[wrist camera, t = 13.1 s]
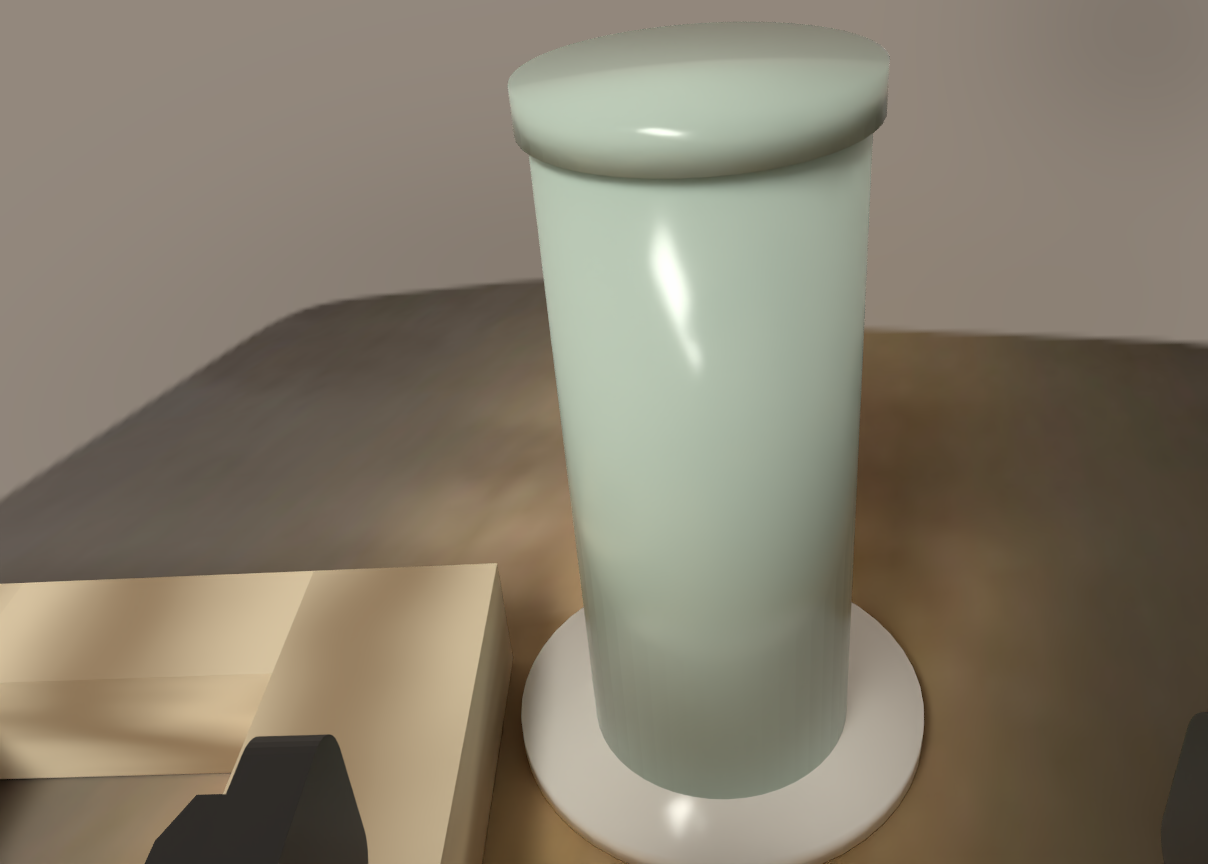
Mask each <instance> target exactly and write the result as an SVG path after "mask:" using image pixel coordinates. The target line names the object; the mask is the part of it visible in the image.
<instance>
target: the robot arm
mask: <svg viewBox="0 0 1208 864" xmlns="http://www.w3.org/2000/svg"><path fill="white" fill-rule="evenodd" d="M1161 843H1162V853H1163V859H1164V864H1208V712H1200V713H1197V714H1195V715H1194V716H1193V717H1192V719H1191V721H1190V723H1189V725H1188V728H1187V732H1186V735H1185V739H1184V743H1183V746H1182V750H1181V754H1180V757H1179V761H1178V765H1177V768H1176V772H1175V775H1174V779H1173V783H1172V786H1171V790H1170V794H1169V797H1168V801H1167V804H1166V808H1165V812H1164V815H1163V820H1162V827H1161ZM145 864H368V846H367V839H366V834H365V830H364V827H363V823H362V820H361V817H360V813H359V810H358V807H357V803H356V800H355V796H354V793H353V790H352V786H351V783H350V780H349V776H348V773H347V770H346V766H345V763H344V760H343V756H342V753H341V750H340V747H339V744H338V742H337V740H336V738H335V737H334V736H333V735H330V734H325V735H290V736H259V737H255V738H253V739H252V740H251V741H250V742H249V743H248V744H247V746H246V747H245V749H244V751H243V754H242V756H241V758H240V761H239V763H238V766H237V768H236V770H235V773H234V775H233V778H232V780H231V783H230V785H229V788H228V790H227V793H226V794H212V795H196V796H195V797H194V798H193V800H192V801H191V802H190V803H189V804H188V805H187V806H186V807H185V808H184V810H183V811H182V812H181V813H180V814H179V815H178V816H177V817H176V818H175V820H174V821H173V822H172V823H171V824H170V825H169V826H168V827H167V828H166V829H165V831H164V832H163V833H162V834H161V835H160V836H159V837H158V838H157V839H156V841H155V842H154V844H153V847H152V849H151V851H150V853H149V855H148V858H147V860H146V862H145Z"/></svg>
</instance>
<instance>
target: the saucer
mask: <svg viewBox="0 0 1208 864" xmlns="http://www.w3.org/2000/svg"><path fill="white" fill-rule="evenodd" d="M521 720H522V728H523V735H524V742H525V748H526V753H527V758H528V761H529V764H530V768H531V771H532V774H533V777H534V779H535V781H536V782H537V784H538V786H539V788H540V790H541V792H542V794H543V796H544V797H545V799H546V800H547V801H548V803H549V804H550V805H551V807H552V808H553V809H554V811H555V812H556V813H557V814H558V815H559V816H560V817H561V818H562V819H563V820H564V821H565V822H566V824H567V825H568V826H569V827H570V828H571V829H572V830H574V831H575V832H576V833H578V834H579V835H580V836H582V837H583V838H584V839H585V840H587V841H588V842H589V843H591V844H592V845H593V846H595V847H597V848H599V849H601V850H602V851H604V852H606V853H608V854H609V855H611V856H613V857H615V858H617V859H619V860H621V861H624V862H626V863H629V864H823V863H825V862H827V861H829V860H831V859H833V858H835V857H838V856H840V855H842V854H844V853H845V852H847V851H848V850H850V849H851V848H853V847H854V846H856V845H858V844H859V843H861V842H862V841H864V840H865V839H866V838H868V837H869V836H870V835H871V834H872V833H873V832H874V831H876V830H877V829H878V828H879V827H880V826H881V825H882V824H884V823H885V821H886V820H887V819H888V818H889V817H890V815H891V814H892V813H893V812H894V811H895V809H896V808H897V807H898V806H899V805H900V803H901V801H902V800H903V798H904V796H905V795H906V793H907V791H908V789H909V788H910V786H911V784H912V781H913V778H914V776H915V773H916V770H917V768H918V765H919V759H920V753H921V748H922V740H923V730H924V704H923V699H922V694H921V688H920V685H919V682H918V679H917V677H916V674H915V671H914V669H913V666H912V665H911V663H910V661H909V659H908V658H907V656H906V654H905V652H904V651H903V649H902V648H901V647H900V645H899V644H898V643H897V642H896V640H895V639H894V638H893V637H892V635H891V634H890V633H889V632H888V631H887V630H886V629H885V628H884V627H883V626H882V625H881V624H880V623H879V622H878V621H877V620H876V619H874V618H873V617H872V616H870V615H869V614H868V613H867V612H865V611H864V610H863V609H861V608H860V607H859V606H857V605H855V604H854V603H851V625H850V647H849V668H848V690H847V711H846V720H845V724H844V728H843V732H842V734H841V736H840V738H839V741H838V743H837V744H836V746H835V747H834V749H833V750H832V752H831V753H830V755H829V756H828V757H827V758H826V759H825V760H824V761H823V762H822V763H821V764H820V765H819V766H818V767H817V768H815V769H814V770H813V771H812V772H810V773H809V774H808V775H806V776H805V777H803V778H801V779H800V780H798V781H796V782H795V783H792V784H790V785H788V786H786V787H783V788H781V789H779V790H776V791H772V792H769V793H766V794H763V795H757V796H752V797H747V798H737V799H707V798H699V797H692V796H688V795H683V794H679V793H675V792H672V791H670V790H667V789H664V788H661V787H659V786H657V785H655V784H653V783H651V782H649V781H647V780H645V779H643V778H642V777H640V776H639V775H637V774H636V773H634V772H633V771H631V770H630V769H629V768H628V767H627V766H625V765H624V764H623V763H622V762H621V761H620V760H619V759H618V758H617V757H616V755H615V754H614V753H613V752H612V751H611V749H610V748H609V746H608V744H607V743H606V741H605V739H604V737H603V735H602V732H601V730H600V728H599V723H598V719H597V714H596V705H595V697H594V689H593V681H592V672H591V664H590V656H589V648H588V639H587V631H586V623H585V615H584V607H583V608H582V609H580V610H579V611H578V612H576V613H575V614H574V615H572V616H571V617H570V618H569V619H568V620H567V621H566V622H565V623H564V624H562V625H561V626H560V627H559V628H558V629H557V630H556V631H555V632H554V634H553V635H552V636H551V637H550V639H549V640H548V641H547V642H546V644H545V645H544V646H543V648H542V649H541V651H540V653H539V654H538V656H537V658H536V659H535V661H534V663H533V665H532V668H531V670H530V673H529V675H528V677H527V680H526V684H525V688H524V693H523V697H522V712H521Z"/></svg>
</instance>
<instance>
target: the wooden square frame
mask: <svg viewBox="0 0 1208 864" xmlns="http://www.w3.org/2000/svg"><path fill="white" fill-rule="evenodd" d="M512 662H513V654H512V648H511V642H510V636H509V630H508V625H507V619H506V613H505V607H504V601H503V595H502V589H501V583H500V577H499V571H498V566H497V563H492V564H468V565H444V566H420V567H396V568H372V569H348V570H324V571H300V572H276V573H252V574H228V575H204V576H180V577H156V578H132V579H108V580H84V581H60V582H36V583H12V584H0V779H23V778H59V777H95V776H131V775H166V774H202V773H231V776H230V778H229V780H228V783H227V785H226V788H225V790H224V793H223V794H226V793H227V790H228V788H229V785H230V783H231V780H232V778H233V775H234V773H235V770H236V768H237V766H238V763H239V761H240V758H241V756H242V754H243V751H244V749H245V747H246V746H247V744H248V743H249V742H250V741H251V740H252V739H253V738H255V737H259V736H290V735H325V734H330V735H333V736H334V737H335V738H336V740H337V742H338V744H339V747H340V750H341V753H342V756H343V760H344V763H345V766H346V770H347V773H348V776H349V780H350V783H351V786H352V790H353V793H354V796H355V800H356V803H357V807H358V810H359V813H360V817H361V820H362V823H363V827H364V830H365V834H366V839H367V846H368V864H482V860H483V854H484V847H485V840H486V834H487V827H488V821H489V814H490V807H491V801H492V794H493V788H494V781H495V774H496V768H497V761H498V755H499V748H500V741H501V735H502V728H503V722H504V715H505V708H506V702H507V695H508V689H509V682H510V675H511V669H512Z"/></svg>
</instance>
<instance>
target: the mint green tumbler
mask: <svg viewBox="0 0 1208 864" xmlns="http://www.w3.org/2000/svg"><path fill="white" fill-rule="evenodd" d="M889 60H890V56H889V54H888V52H887V50H885V49H884V48H883V47H882V46H881V45H880V44H878V43H876V42H874V41H873V40H871V39H868V38H866V37H863V36H860V35H857V34H854V33H850V32H847V31H842V30H837V29H832V28H826V27H819V26H812V25H803V24H792V23H776V22H719V23H699V24H687V25H675V26H665V27H657V28H649V29H642V30H635V31H629V32H624V33H618V34H613V35H607V36H603V37H598V38H594V39H590V40H586V41H582V42H578V43H575V44H571V45H568V46H565V47H561V48H558V49H555V50H553V51H550V52H548V53H545V54H543V55H540V56H538V57H536V58H534V59H532V60H530V61H528V62H527V63H525V64H524V65H522V66H520V67H519V68H518V69H517V70H516V71H515V72H514V73H513V74H512V75H511V77H510V78H509V81H508V92H509V100H510V108H511V115H512V124H513V132H514V137H515V140H516V143H517V144H518V146H519V147H520V148H521V149H522V150H523V151H524V152H526V153H527V154H529V161H530V169H531V177H532V185H533V194H534V202H535V209H536V218H537V227H538V235H539V243H540V251H541V260H542V268H543V276H544V284H545V293H546V301H547V309H548V317H549V326H550V334H551V342H552V350H553V359H554V367H555V375H556V383H557V392H558V400H559V408H560V416H561V425H562V433H563V441H564V449H565V458H566V466H567V474H568V482H569V491H570V499H571V507H572V515H573V524H574V532H575V540H576V549H577V557H578V565H579V573H580V582H581V590H582V598H583V606H584V615H585V623H586V631H587V639H588V648H589V656H590V664H591V672H592V681H593V689H594V697H595V705H596V714H597V719H598V723H599V728H600V730H601V732H602V735H603V737H604V739H605V741H606V743H607V744H608V746H609V748H610V749H611V751H612V752H613V753H614V754H615V755H616V757H617V758H618V759H619V760H620V761H621V762H622V763H623V764H624V765H625V766H627V767H628V768H629V769H630V770H631V771H633V772H634V773H636V774H637V775H639V776H640V777H642V778H643V779H645V780H647V781H649V782H651V783H653V784H655V785H657V786H659V787H661V788H664V789H667V790H670V791H672V792H675V793H679V794H683V795H688V796H692V797H699V798H707V799H737V798H747V797H752V796H757V795H763V794H766V793H769V792H772V791H776V790H779V789H781V788H783V787H786V786H788V785H790V784H792V783H795V782H796V781H798V780H800V779H801V778H803V777H805V776H806V775H808V774H809V773H810V772H812V771H813V770H814V769H815V768H817V767H818V766H819V765H820V764H821V763H822V762H823V761H824V760H825V759H826V758H827V757H828V756H829V755H830V753H831V752H832V750H833V749H834V747H835V746H836V744H837V743H838V741H839V738H840V736H841V734H842V732H843V728H844V724H845V720H846V711H847V690H848V668H849V647H850V625H851V603H852V581H853V559H854V537H855V515H856V493H857V471H858V449H859V427H860V406H861V384H862V362H863V340H864V318H865V296H866V273H867V251H868V230H869V207H870V185H871V164H872V143H873V133H874V132H875V131H876V130H877V129H878V128H879V127H880V126H881V125H882V124H883V122H884V120H885V118H886V116H887V100H888V79H889Z"/></svg>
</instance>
